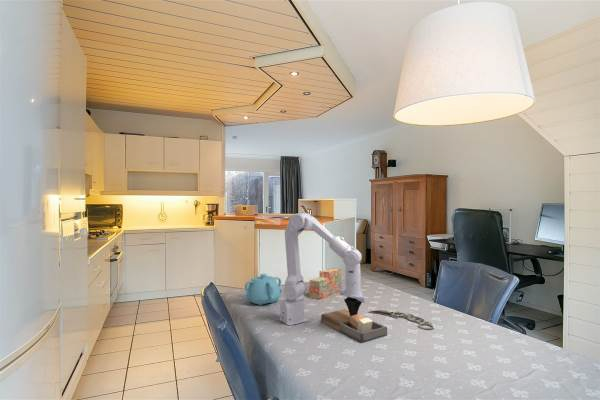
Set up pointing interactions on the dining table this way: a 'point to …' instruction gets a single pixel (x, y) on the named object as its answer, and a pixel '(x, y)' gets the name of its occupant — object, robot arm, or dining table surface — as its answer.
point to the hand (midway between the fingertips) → (353, 317)
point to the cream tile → (364, 325)
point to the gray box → (363, 337)
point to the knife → (408, 317)
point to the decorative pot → (263, 289)
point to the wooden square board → (336, 319)
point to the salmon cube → (355, 319)
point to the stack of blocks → (325, 283)
